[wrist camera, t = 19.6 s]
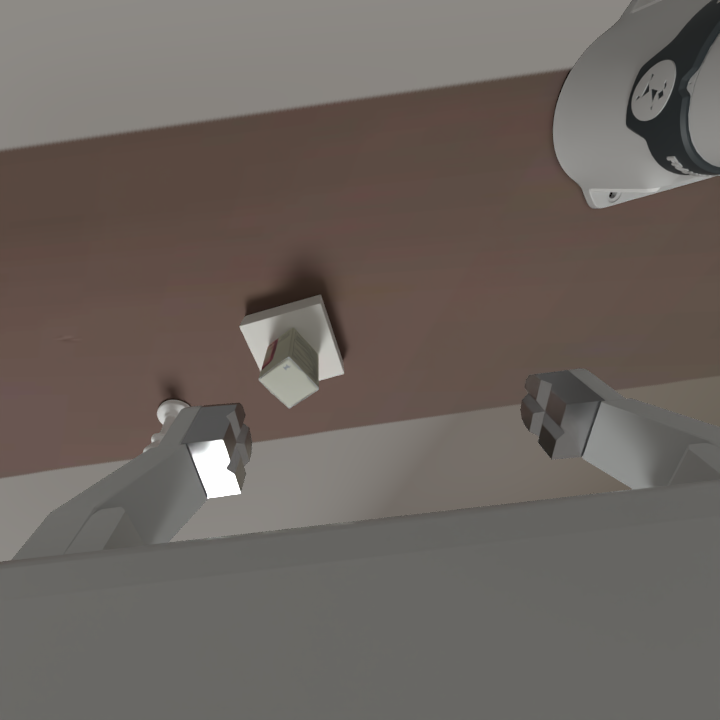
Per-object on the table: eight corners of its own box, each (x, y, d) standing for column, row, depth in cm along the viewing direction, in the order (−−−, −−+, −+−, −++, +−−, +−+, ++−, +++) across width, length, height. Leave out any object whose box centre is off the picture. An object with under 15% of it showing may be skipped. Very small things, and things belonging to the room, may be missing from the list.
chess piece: (182, 432, 51) (152, 485, 43) (151, 414, 49) (113, 466, 41) (201, 412, 50) (174, 463, 41) (171, 393, 48) (135, 442, 39)
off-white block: (320, 292, 44) (320, 303, 40) (342, 359, 48) (344, 373, 45) (246, 314, 44) (239, 326, 41) (275, 377, 49) (271, 393, 45)
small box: (266, 345, 42) (255, 379, 35) (293, 325, 41) (288, 356, 34) (293, 373, 44) (288, 410, 37) (320, 355, 43) (320, 389, 36)
